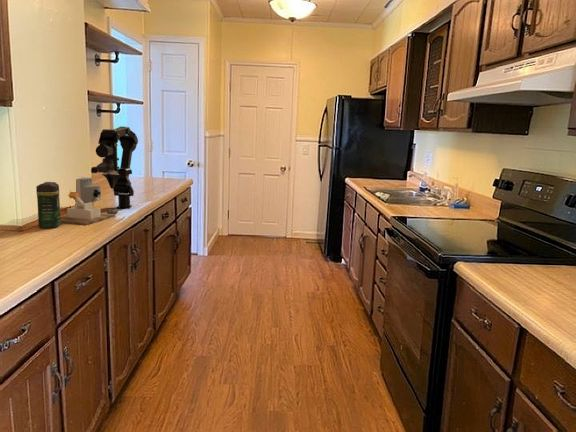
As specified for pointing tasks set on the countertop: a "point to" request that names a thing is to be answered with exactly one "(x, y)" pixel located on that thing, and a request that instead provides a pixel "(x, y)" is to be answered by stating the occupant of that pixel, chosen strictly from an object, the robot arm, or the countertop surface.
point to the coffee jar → (48, 205)
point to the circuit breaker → (87, 190)
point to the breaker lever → (76, 198)
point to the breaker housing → (83, 211)
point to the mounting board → (85, 221)
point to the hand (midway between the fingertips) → (112, 188)
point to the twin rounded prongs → (112, 211)
